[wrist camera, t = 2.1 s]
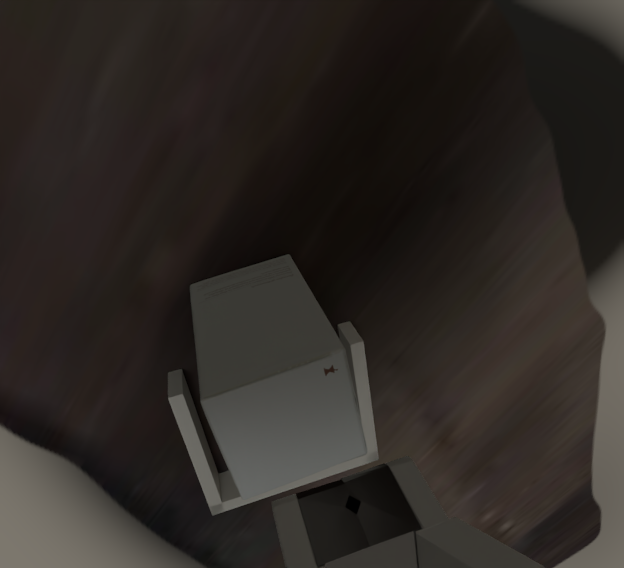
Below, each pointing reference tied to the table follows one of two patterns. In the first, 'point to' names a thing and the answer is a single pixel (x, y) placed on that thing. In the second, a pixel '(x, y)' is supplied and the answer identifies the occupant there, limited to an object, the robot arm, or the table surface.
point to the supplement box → (272, 377)
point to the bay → (221, 485)
